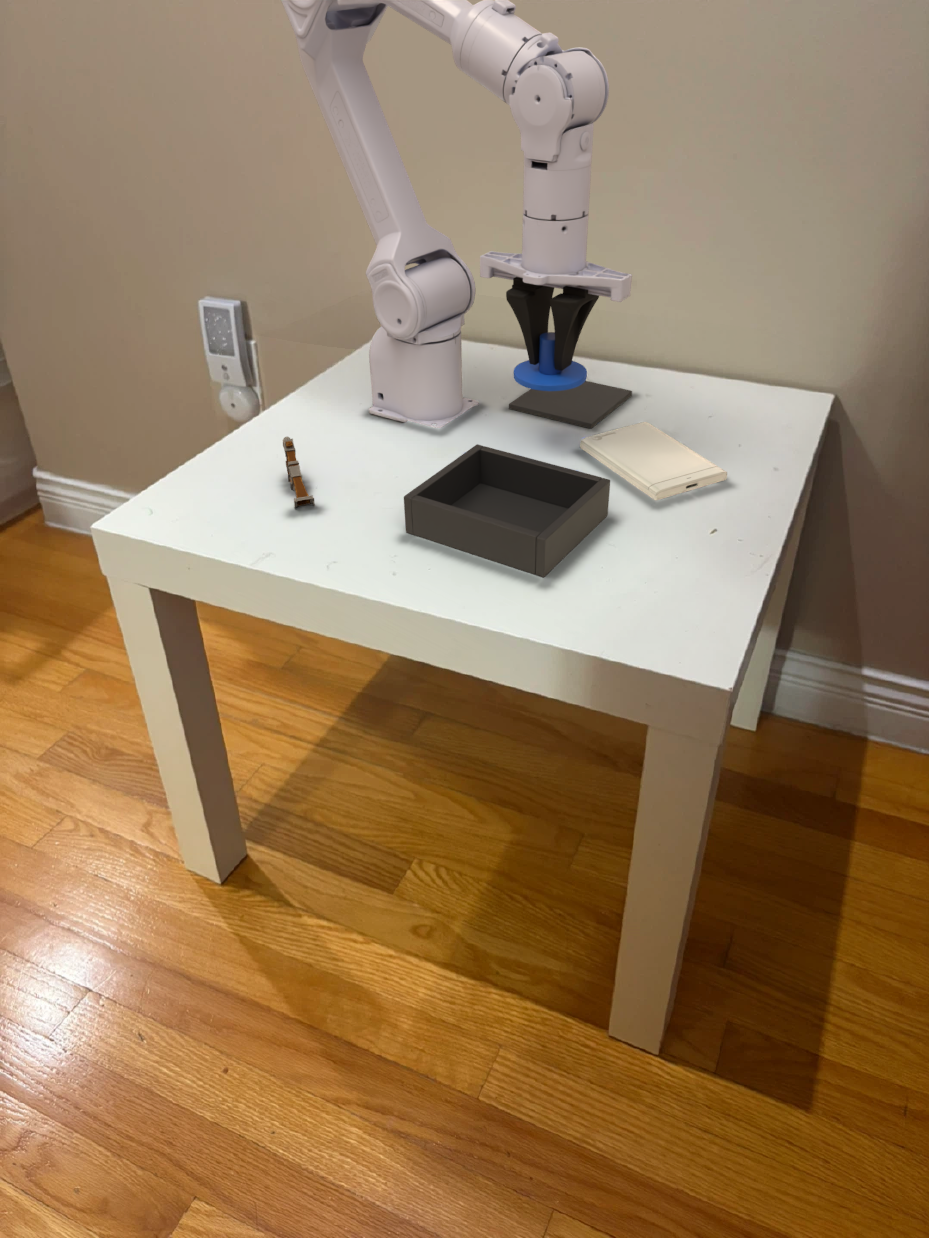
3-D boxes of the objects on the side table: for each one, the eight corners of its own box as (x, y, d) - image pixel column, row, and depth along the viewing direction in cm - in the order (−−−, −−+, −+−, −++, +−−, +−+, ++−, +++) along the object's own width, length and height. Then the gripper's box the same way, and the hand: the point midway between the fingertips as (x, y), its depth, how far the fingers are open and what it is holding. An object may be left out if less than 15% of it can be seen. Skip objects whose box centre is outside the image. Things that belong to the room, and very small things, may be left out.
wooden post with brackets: (297, 461, 93) (295, 430, 89) (315, 526, 89) (314, 496, 86) (278, 464, 93) (276, 432, 89) (296, 530, 89) (294, 500, 85)
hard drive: (580, 438, 95) (656, 490, 86) (647, 420, 98) (728, 468, 89) (579, 453, 96) (654, 506, 87) (646, 435, 99) (726, 484, 90)
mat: (508, 409, 105) (508, 403, 104) (552, 378, 111) (552, 373, 111) (591, 429, 100) (591, 423, 100) (631, 395, 107) (632, 390, 106)
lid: (499, 381, 91) (499, 340, 89) (536, 358, 96) (537, 318, 94) (564, 397, 88) (566, 355, 86) (599, 372, 93) (602, 331, 90)
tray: (405, 538, 83) (403, 496, 81) (477, 483, 91) (476, 443, 88) (543, 583, 77) (545, 540, 75) (607, 521, 85) (610, 479, 82)
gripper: (460, 212, 84) (463, 362, 92) (610, 234, 77) (599, 394, 85) (502, 196, 89) (502, 340, 97) (647, 215, 82) (633, 368, 90)
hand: (550, 364), depth 91 cm, fingers closed on lid, 2 cm apart
